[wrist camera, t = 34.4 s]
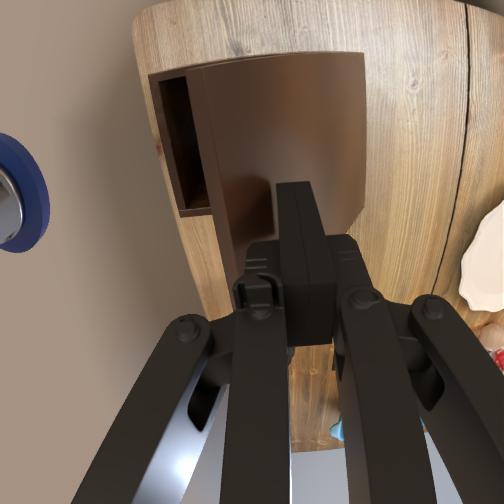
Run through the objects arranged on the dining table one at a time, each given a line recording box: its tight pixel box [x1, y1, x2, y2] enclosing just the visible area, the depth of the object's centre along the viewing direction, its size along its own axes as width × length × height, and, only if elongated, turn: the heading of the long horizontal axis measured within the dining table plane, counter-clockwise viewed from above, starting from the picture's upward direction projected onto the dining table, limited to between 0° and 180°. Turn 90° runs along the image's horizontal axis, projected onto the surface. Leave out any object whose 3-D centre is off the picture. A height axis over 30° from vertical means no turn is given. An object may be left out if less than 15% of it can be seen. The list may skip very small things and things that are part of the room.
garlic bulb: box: [479, 323, 504, 351], centre depth 54 cm, size 7×6×8 cm
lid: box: [185, 52, 367, 312], centre depth 18 cm, size 18×14×1 cm
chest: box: [148, 51, 344, 218], centre depth 30 cm, size 17×14×13 cm
